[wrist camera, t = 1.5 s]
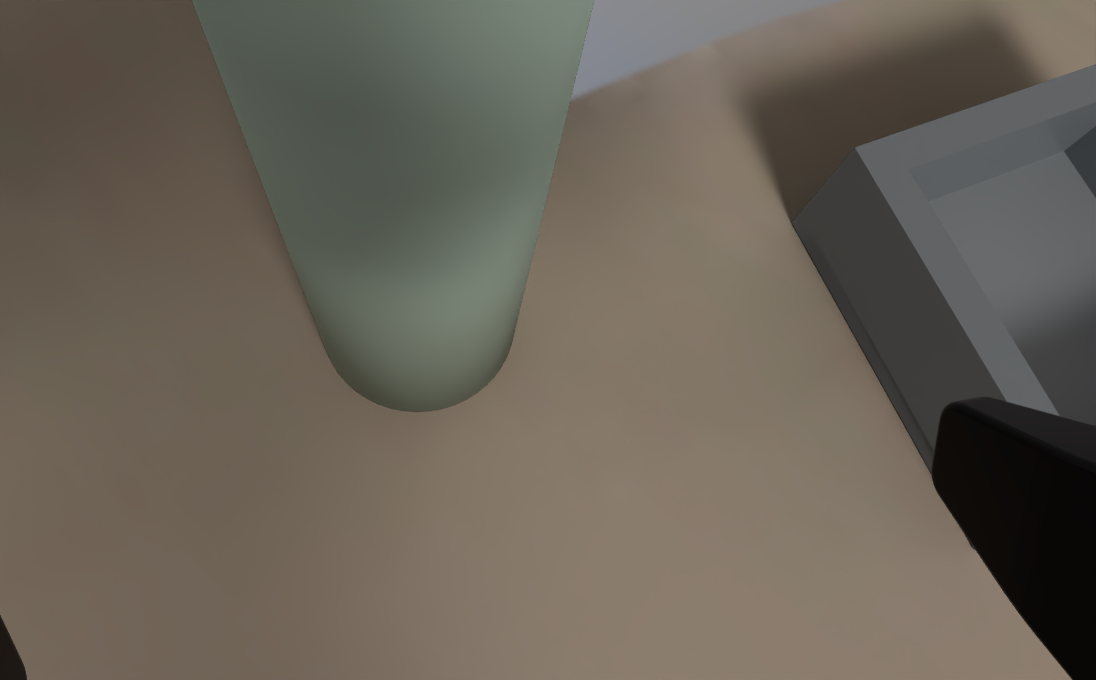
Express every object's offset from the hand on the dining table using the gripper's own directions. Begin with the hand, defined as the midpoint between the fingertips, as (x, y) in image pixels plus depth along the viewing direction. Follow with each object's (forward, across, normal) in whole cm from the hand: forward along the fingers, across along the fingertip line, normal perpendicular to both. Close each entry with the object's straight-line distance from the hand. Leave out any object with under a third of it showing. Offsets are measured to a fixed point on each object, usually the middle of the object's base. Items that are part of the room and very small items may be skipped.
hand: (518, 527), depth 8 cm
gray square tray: (+12, -17, +6) cm, 22 cm away
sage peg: (+14, 0, +4) cm, 15 cm away
